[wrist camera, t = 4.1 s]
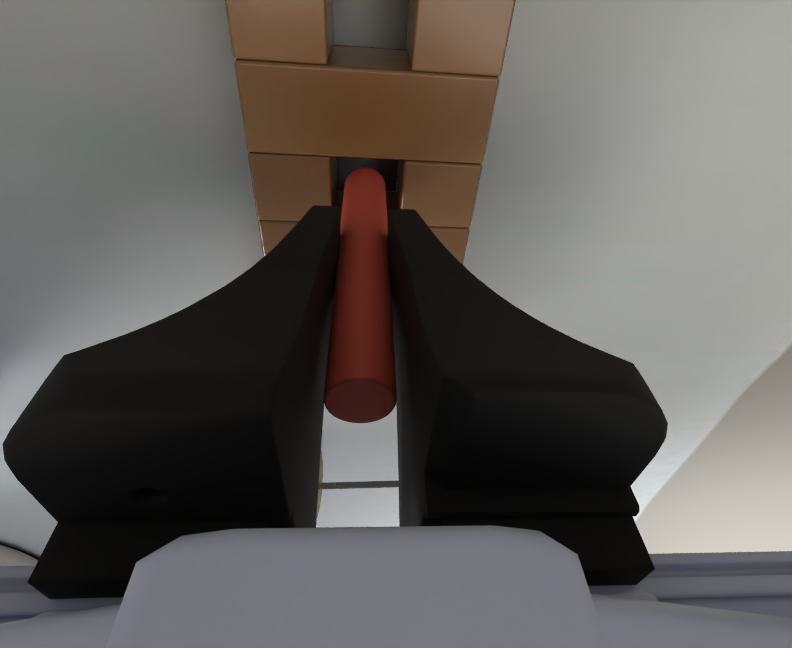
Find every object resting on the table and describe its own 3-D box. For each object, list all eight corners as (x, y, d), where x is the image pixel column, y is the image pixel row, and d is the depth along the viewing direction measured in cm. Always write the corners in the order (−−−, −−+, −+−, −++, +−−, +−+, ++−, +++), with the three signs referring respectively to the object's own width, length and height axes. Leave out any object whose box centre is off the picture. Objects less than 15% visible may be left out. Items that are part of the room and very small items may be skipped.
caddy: (435, 329, 20) (442, 370, 18) (288, 326, 19) (279, 367, 18) (519, -161, 10) (552, -179, 8) (224, -193, 10) (190, -219, 8)
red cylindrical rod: (374, 211, 14) (376, 431, 8) (337, 194, 13) (312, 413, 7) (392, 178, 13) (410, 392, 7) (355, 158, 13) (341, 369, 7)
